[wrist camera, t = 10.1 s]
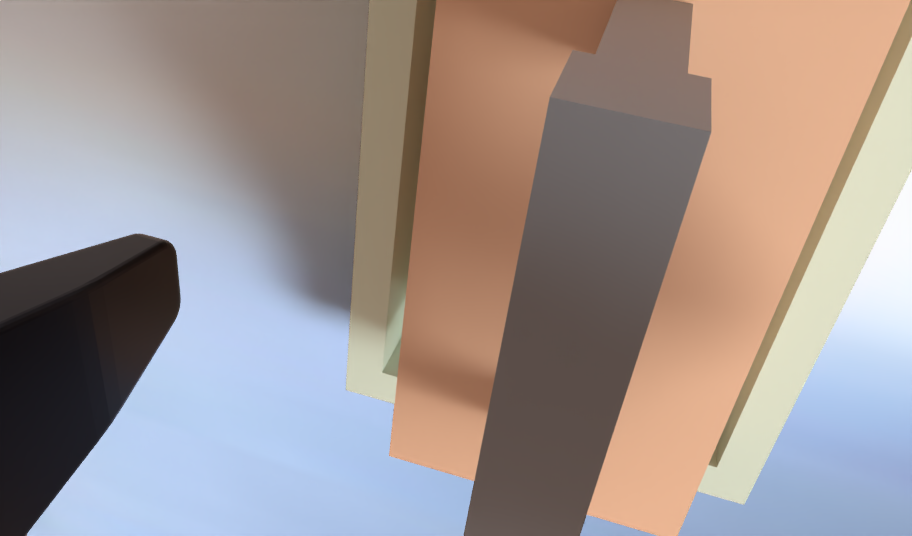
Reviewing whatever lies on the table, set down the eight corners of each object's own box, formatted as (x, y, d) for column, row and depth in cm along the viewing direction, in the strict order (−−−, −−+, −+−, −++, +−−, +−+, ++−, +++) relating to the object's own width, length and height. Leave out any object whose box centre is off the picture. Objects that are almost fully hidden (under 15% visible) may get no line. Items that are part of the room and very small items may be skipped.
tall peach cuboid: (875, -164, 12) (1128, -53, 5) (683, 356, 17) (665, 765, 10) (540, -215, 12) (317, -188, 5) (462, 298, 18) (302, 641, 11)
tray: (1071, -304, 11) (1155, -320, 9) (740, 422, 18) (743, 504, 16) (448, -384, 12) (394, -413, 10) (383, 325, 20) (345, 390, 18)
